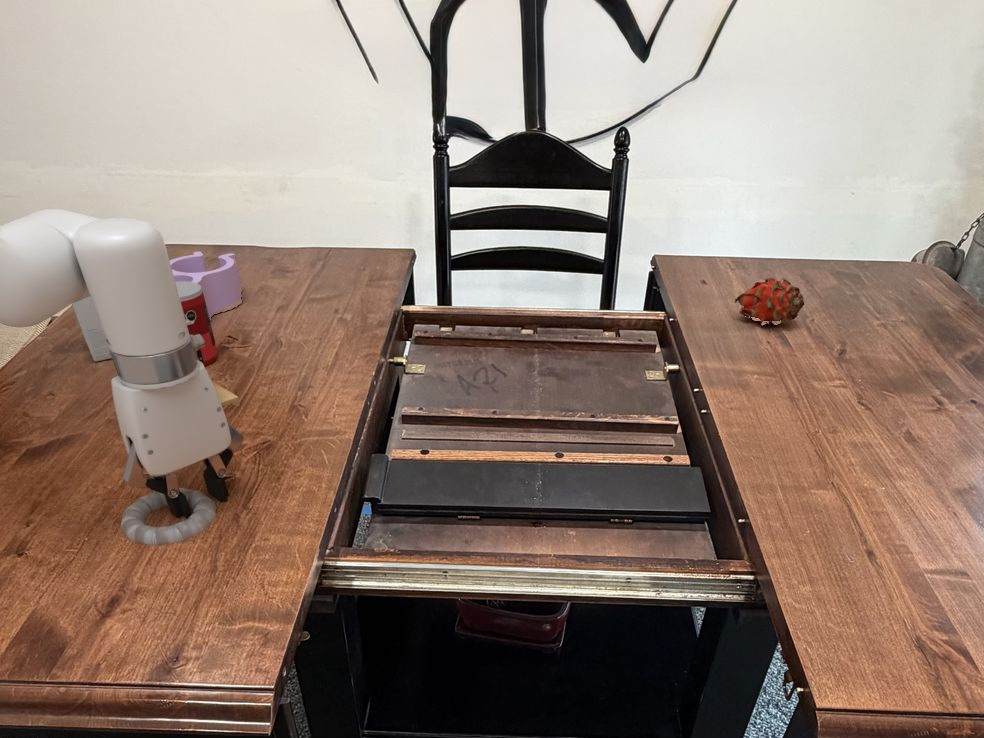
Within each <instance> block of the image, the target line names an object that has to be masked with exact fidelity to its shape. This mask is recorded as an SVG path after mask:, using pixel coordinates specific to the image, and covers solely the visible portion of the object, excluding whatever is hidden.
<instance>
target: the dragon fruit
mask: <svg viewBox="0 0 984 738" xmlns="http://www.w3.org/2000/svg"><path fill="white" fill-rule="evenodd" d="M781 280H782V281H781ZM781 280H776V279H775V278H773V277H767V278H764V281H757V282H755V283H754V285H753V286H752V287H751V288H749V289H747V290H746V291H744V292H742V293H740V294H739V295H738V296H737V297H736V298H735V299H734V304H736V303H737V302H738V304H739V305H740V306H742V308H740V309H739V314H740V315H741V316H742V315H744V316H746V317H749V315H750V318H751V317H755V318H759V319H760V320H761V321H760V323H761V322H763V321H769V322H772V321H780V320H781V321H782V320H783V321H788V322H789V321H790V322H791V321H793V320H795V319H796V318H797V317H798V316H799V313H800V311H801V310H802V308H803V307H804V306H805V305H806V304H805V302H804V300H805V299H804V296H803V294H802V293H801V289H800V288H799V287H798V286H794V285H793V284H792V283H791V281H789V280H788V279H787V278H786V277H782V278H781ZM744 316H743V317H744ZM783 321H782V322H783Z"/></svg>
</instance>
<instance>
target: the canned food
mask: <svg viewBox="0 0 984 738" xmlns="http://www.w3.org/2000/svg"><path fill="white" fill-rule="evenodd" d="M175 283H176V287H177V290H178V294H179V298H180V301H181V305H182V309H183V313H184V316H185V320H186V324H187V328H188V332H189V334H190V335H198V334H200V335H201V336H202V337H203V339H204V342H205V347H203V348H200V349H199V350H198V351H197V357H198V360H199V361H200V362H202V363H203V365H204V367H206V365H207V366H209V365H211V364H213V363H214V362H215V361H216V360H217V359H218V348H217V344H216V339H215V335H214V331H213V327H212V324H211V321H210V318H209V314H208V310H207V306H206V302H205V298H204V294H203V290H202V288H201V286H200V285H199V284H197V283H194V282H187V281H177V282H175ZM212 362H213V363H212Z"/></svg>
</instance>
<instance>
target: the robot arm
mask: <svg viewBox="0 0 984 738" xmlns="http://www.w3.org/2000/svg"><path fill="white" fill-rule="evenodd" d="M89 296H91V299H92V302H93V305H94V307H95V310H96V313H97V316H98V319H99V322H100V324H101V327H102V330H103V333H104V336H105V339H106V342H107V344H108V347H109V350H110V353H111V356H112V358H111V359H112V361H113V365H114V368H115V370H116V373H117V375H116V376H114V377H112V378H111V380H110V384H111V393H112V400H113V405H114V411H115V415H116V420H117V423H118V427H119V431H120V435H121V438H122V441H123V444H124V448H125V451H126V453H127V459H126V464H125V466H124V471H123V474H122V481H123V482H124V483H125V484H126V485H128V487H132V488H139V489H149V490H151V491H153V492H159V493H162V494H164V495H165V498H166V501H167V504H168V506H167V507H168V509H169V512H170V514H171V515H172V516H174V517H175V518H176V519H180V518H181V517H183V518H185V520H186V519H188V518H189V517H190V516H191V515H192V514H193V513H192V510H191V508H190V507H189V504H188V501H187V498H186V496H185V495H184V494H183V493H182V492H181V491H180V490H179V488H180V487H179V480H178V472H177V471H178V470H181V469H184V468H186V467H188V466H191V465H194V464H196V463H199V462H201V461H202V463H203V465H204V467H205V469H204V470H202V472H203V473H202V477H203V480H204V483H205V488H206V490H207V493H208V495H210V496H211V497H213V498H214V499H215V500H217V501H218V502H220V504H225V503H227V502H228V498H227V497H229V496H230V494H229V490H228V487H227V483H226V479H225V477H226V476H227V474H228V469H227V468H228V466H229V465H230V462H231V460H232V458H233V457H234V453H235V452H236V451H237V450H238V449H239V448H240V447H241V445H242V444H243V442H244V441H245V438H244V436H243V434H241V433H240V432H239V431H238V430H237V429H235V428H234V427H233V426H232V425H230V424H229V423H228V419H227V416H226V413H225V411H224V406H223V407H222V404H221V402H220V399H219V397H218V394H217V392H216V389H215V387H214V385H213V383H212V382H213V381H212V379H211V376H210V374H209V372H208V370H207V369H206V366H204V365H203V363H202V362H200V361H199V360H198V357H197V351H198V350H199V349H200V348H203V347H205V342H204V339H203V337H202V336H201V335H200V334H198V335H190V334H189V332H188V328H187V324H186V320H185V316H184V313H183V309H182V305H181V301H180V298H179V294H178V290H177V287H176V283H175V279H174V275H173V272H172V268H171V264H170V258H169V254H168V250H167V246H166V243H165V240H164V238H163V236H162V233H161V231H160V230H159V229H158V228H157V227H156V226H155V225H154V224H152V223H151V222H149V221H147V220H143V219H139V218H135V217H112V218H110V217H109V218H100V217H95V216H91V215H87V214H84V213H79V212H75V211H71V210H68V209H67V210H66V209H62V208H46V209H41V210H38V211H33V212H32V213H30V214H27V215H25V216H22V217H20V218H17V219H14V220H11V221H9V222H6V223H4V224H2V225H0V324H1V325H4V326H7V327H12V328H30V327H33V326H34V327H35V326H37V325H39V324H40V323H42V322H45V321H47V320H48V319H50V318H52V317H53V316H55V315H56V314H58V313H60V312H61V311H63V310H64V309H66V308H68V307H69V306H70V305H71V306H72V303H75V302H77V301H80V300H82V299H84V298H87V297H89ZM144 470H145V471H146V474H144V473H143V471H144Z"/></svg>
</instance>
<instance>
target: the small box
mask: <svg viewBox="0 0 984 738" xmlns="http://www.w3.org/2000/svg"><path fill="white" fill-rule="evenodd" d="M71 307H72V309H73V311H74V314H75V317H76V319H77V322H78V324H79V327H80V330H81V333H82V336H83V338H84V341H85V343H86V345H87V348H88V350H89V353H90V356H91V357H92V360H93V362H100V361H106V360H111V359H112V356H111V353H110V350H109V347H108V344H107V342H106V339H105V336H104V333H103V330H102V327H101V324H100V322H99V319H98V316H97V313H96V310H95V307H94V305H93V302H92V299H91V296H89V297H87V298H84V299H82V300H80V301H77V302H75V303H72V304H71Z"/></svg>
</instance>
